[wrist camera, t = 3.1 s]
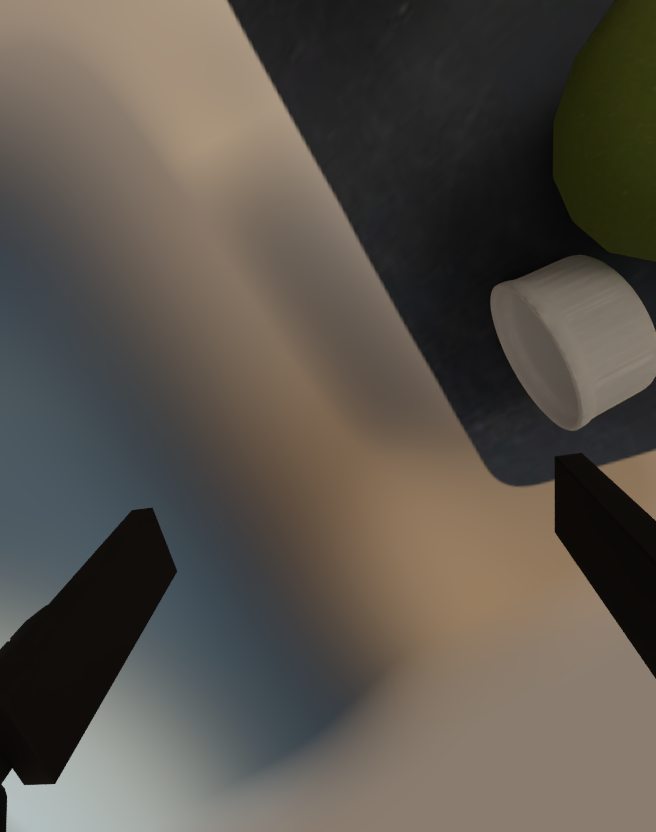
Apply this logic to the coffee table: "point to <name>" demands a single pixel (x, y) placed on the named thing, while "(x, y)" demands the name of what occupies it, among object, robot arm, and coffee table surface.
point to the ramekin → (575, 338)
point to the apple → (612, 133)
